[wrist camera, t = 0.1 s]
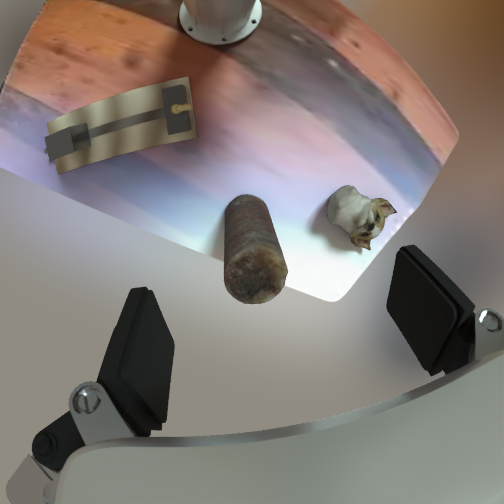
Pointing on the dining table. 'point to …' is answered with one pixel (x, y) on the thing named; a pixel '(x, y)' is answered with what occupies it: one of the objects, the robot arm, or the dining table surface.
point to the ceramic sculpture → (358, 214)
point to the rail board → (122, 125)
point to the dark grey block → (67, 141)
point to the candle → (252, 252)
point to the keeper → (176, 109)
